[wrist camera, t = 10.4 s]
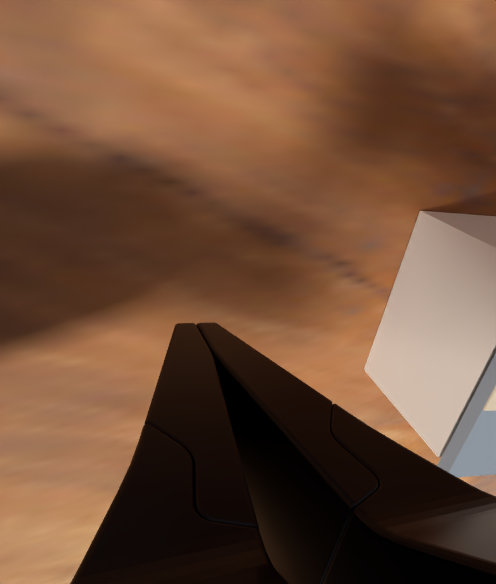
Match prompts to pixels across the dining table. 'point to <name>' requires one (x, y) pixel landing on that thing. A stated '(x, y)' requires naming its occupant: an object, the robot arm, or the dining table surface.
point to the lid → (475, 433)
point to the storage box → (439, 324)
